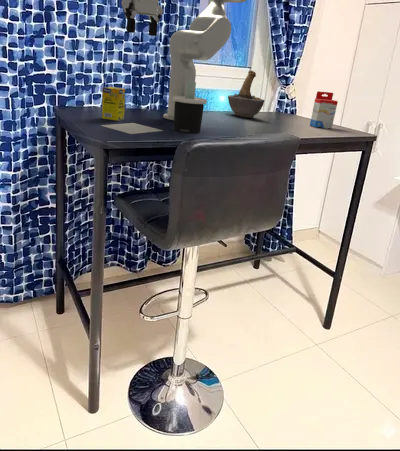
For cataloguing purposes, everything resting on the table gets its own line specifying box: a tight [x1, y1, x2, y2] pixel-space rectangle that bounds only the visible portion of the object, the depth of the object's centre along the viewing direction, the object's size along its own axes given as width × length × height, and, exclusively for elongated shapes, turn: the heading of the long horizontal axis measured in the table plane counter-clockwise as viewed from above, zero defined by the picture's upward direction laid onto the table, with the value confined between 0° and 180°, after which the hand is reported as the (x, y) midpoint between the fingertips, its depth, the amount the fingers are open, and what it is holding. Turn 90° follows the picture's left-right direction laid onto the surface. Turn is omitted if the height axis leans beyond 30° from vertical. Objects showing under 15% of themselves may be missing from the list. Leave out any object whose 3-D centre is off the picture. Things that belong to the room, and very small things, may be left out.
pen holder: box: [173, 101, 205, 134], centre depth 136 cm, size 9×9×10 cm
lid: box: [173, 81, 208, 105], centre depth 133 cm, size 11×11×6 cm
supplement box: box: [101, 86, 126, 122], centre depth 142 cm, size 6×6×11 cm
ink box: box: [309, 91, 339, 129], centre depth 180 cm, size 8×5×15 cm, turn 105°
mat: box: [100, 122, 164, 135], centre depth 132 cm, size 14×14×1 cm
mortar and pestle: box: [227, 69, 265, 119], centre depth 184 cm, size 15×17×20 cm
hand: (141, 34), depth 135 cm, fingers open, 9 cm apart
